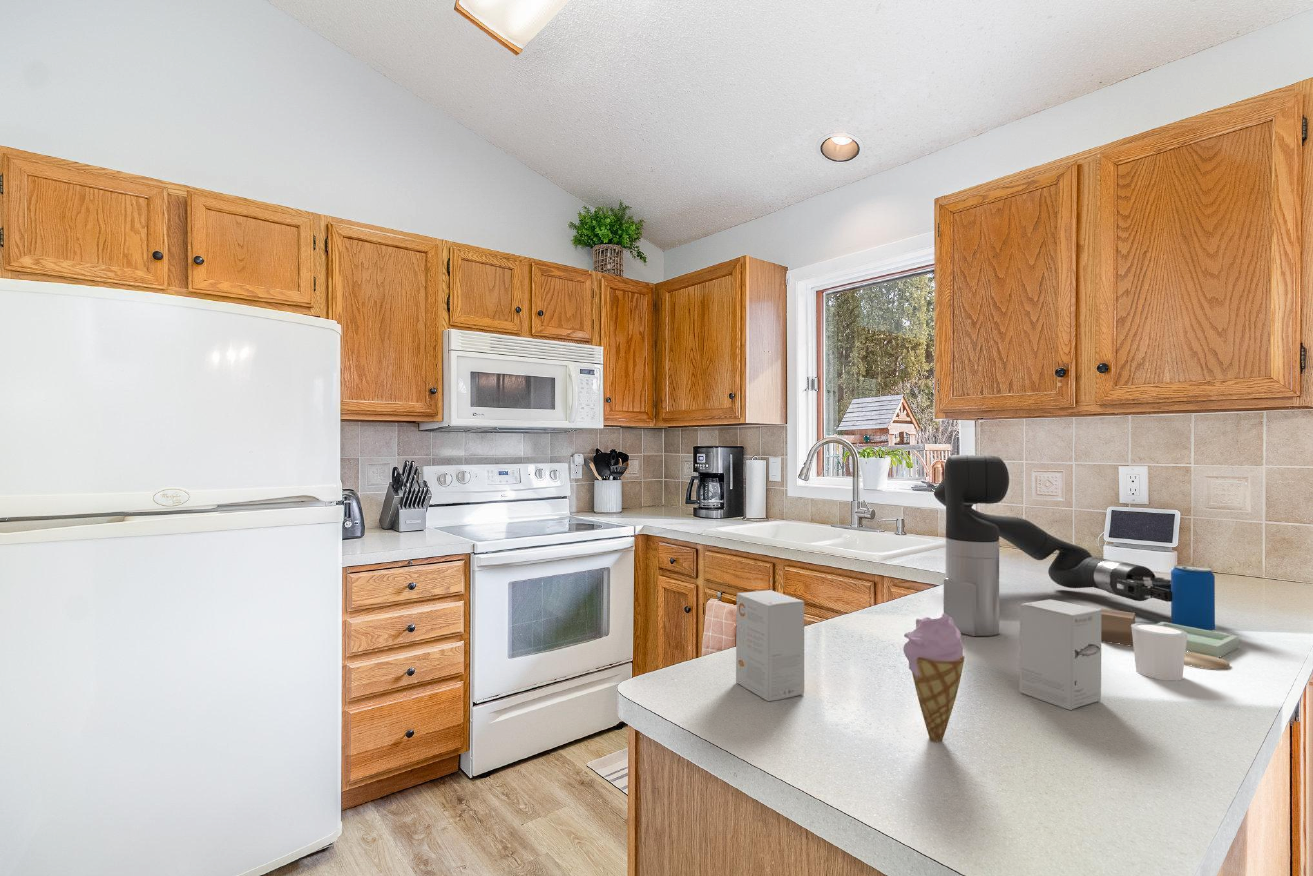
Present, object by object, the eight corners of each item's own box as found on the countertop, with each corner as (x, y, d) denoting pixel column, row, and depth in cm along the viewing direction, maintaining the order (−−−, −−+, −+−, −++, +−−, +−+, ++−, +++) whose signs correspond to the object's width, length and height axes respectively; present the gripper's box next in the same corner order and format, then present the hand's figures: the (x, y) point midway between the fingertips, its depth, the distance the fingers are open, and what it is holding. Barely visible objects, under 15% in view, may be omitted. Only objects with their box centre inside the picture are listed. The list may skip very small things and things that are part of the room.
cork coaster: (1220, 675, 99) (1220, 670, 99) (1157, 660, 105) (1157, 656, 105) (1236, 666, 103) (1236, 661, 103) (1175, 652, 110) (1175, 648, 110)
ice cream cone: (932, 756, 70) (933, 620, 71) (891, 733, 76) (891, 607, 76) (975, 745, 73) (976, 615, 73) (932, 724, 79) (933, 602, 79)
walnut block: (1132, 647, 112) (1132, 618, 112) (1098, 641, 115) (1098, 613, 115) (1135, 640, 115) (1135, 613, 116) (1101, 635, 119) (1101, 608, 119)
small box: (805, 695, 88) (806, 600, 88) (767, 702, 85) (768, 605, 85) (770, 676, 95) (771, 588, 95) (734, 682, 92) (735, 592, 93)
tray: (1217, 658, 105) (1217, 646, 105) (1138, 641, 114) (1138, 630, 115) (1238, 647, 112) (1238, 636, 112) (1162, 632, 121) (1162, 621, 121)
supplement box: (1072, 712, 83) (1071, 615, 83) (1017, 692, 90) (1017, 602, 90) (1103, 702, 86) (1103, 609, 87) (1048, 684, 93) (1048, 597, 93)
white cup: (1179, 670, 99) (1179, 625, 99) (1194, 685, 93) (1194, 637, 93) (1125, 664, 102) (1125, 620, 102) (1137, 678, 96) (1137, 631, 96)
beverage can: (1198, 625, 126) (1197, 564, 126) (1224, 635, 119) (1223, 571, 119) (1163, 624, 126) (1162, 563, 127) (1186, 633, 120) (1186, 570, 120)
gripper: (1154, 596, 140) (1225, 615, 124) (1093, 596, 139) (1156, 616, 123) (1154, 562, 140) (1225, 577, 124) (1093, 562, 139) (1156, 577, 123)
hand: (1191, 596), depth 123 cm, fingers open, 8 cm apart
